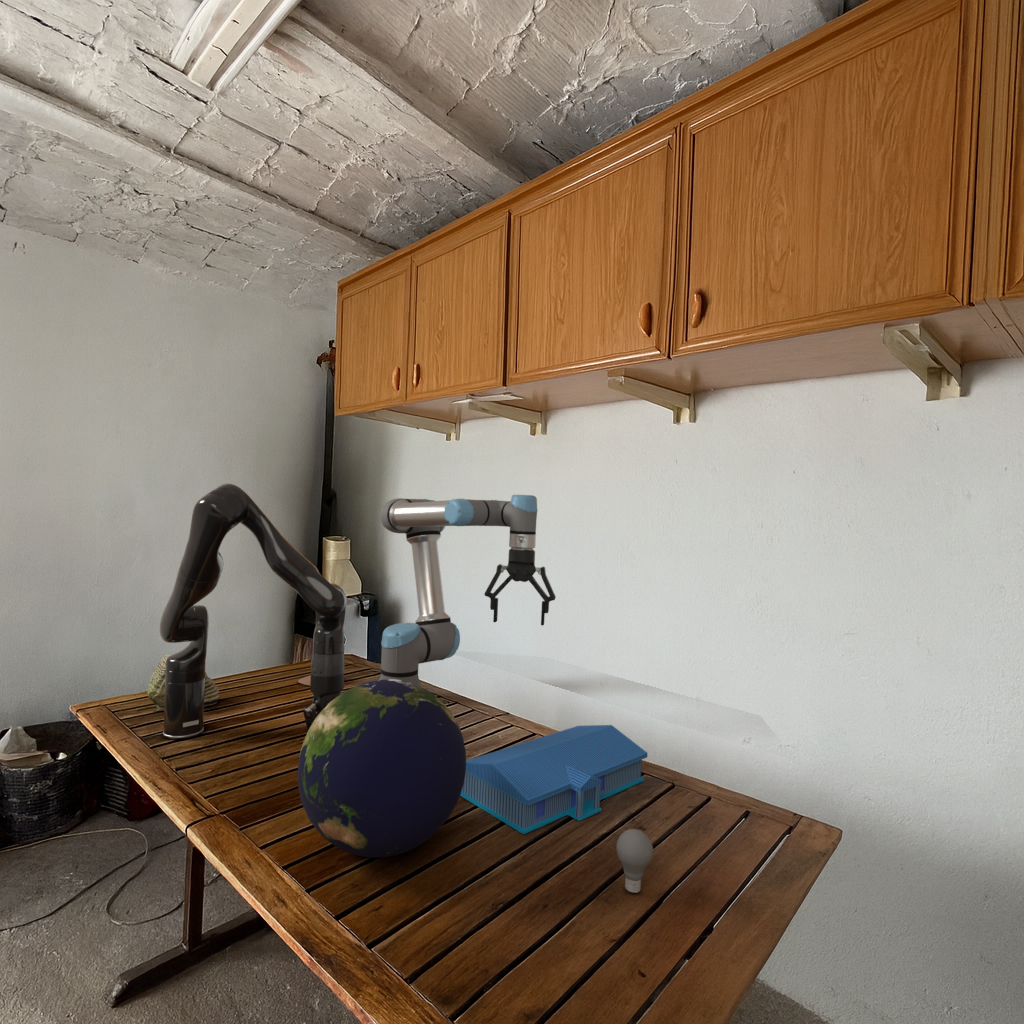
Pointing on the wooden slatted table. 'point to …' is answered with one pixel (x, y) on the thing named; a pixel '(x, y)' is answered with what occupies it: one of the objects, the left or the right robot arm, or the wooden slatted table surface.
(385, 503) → the right robot arm
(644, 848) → the light bulb
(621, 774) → the model building
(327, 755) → the globe
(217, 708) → the wooden slatted table surface
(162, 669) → the fossil
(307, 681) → the anatomical model
